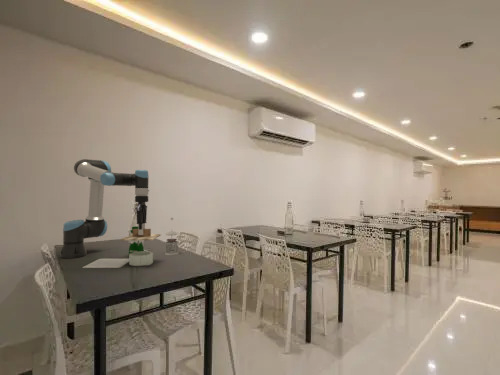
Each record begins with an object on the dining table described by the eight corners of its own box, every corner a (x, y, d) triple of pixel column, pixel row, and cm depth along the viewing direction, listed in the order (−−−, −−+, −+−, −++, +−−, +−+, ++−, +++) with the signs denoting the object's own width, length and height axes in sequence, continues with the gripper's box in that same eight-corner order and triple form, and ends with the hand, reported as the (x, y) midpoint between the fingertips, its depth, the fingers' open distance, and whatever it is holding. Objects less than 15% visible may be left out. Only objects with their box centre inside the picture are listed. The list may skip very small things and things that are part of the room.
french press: (166, 251, 210) (167, 216, 210) (183, 252, 210) (183, 217, 210) (162, 254, 200) (162, 218, 200) (179, 255, 200) (179, 218, 200)
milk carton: (126, 257, 191) (126, 227, 191) (133, 254, 200) (133, 225, 200) (139, 258, 190) (139, 227, 190) (145, 255, 199) (146, 225, 199)
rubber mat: (82, 268, 166) (82, 267, 166) (99, 259, 187) (99, 258, 187) (119, 268, 167) (119, 267, 167) (133, 259, 188) (133, 258, 188)
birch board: (120, 240, 168) (120, 231, 168) (132, 235, 186) (132, 227, 186) (152, 240, 169) (152, 231, 169) (160, 235, 187) (160, 227, 187)
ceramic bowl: (126, 266, 171) (126, 256, 171) (134, 260, 184) (134, 251, 184) (148, 266, 171) (148, 256, 171) (155, 260, 184) (155, 251, 184)
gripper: (143, 195, 170) (143, 236, 170) (151, 195, 186) (151, 232, 185) (130, 195, 170) (130, 236, 170) (139, 195, 185) (139, 232, 185)
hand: (141, 234), depth 177 cm, fingers closed on birch board, 2 cm apart
